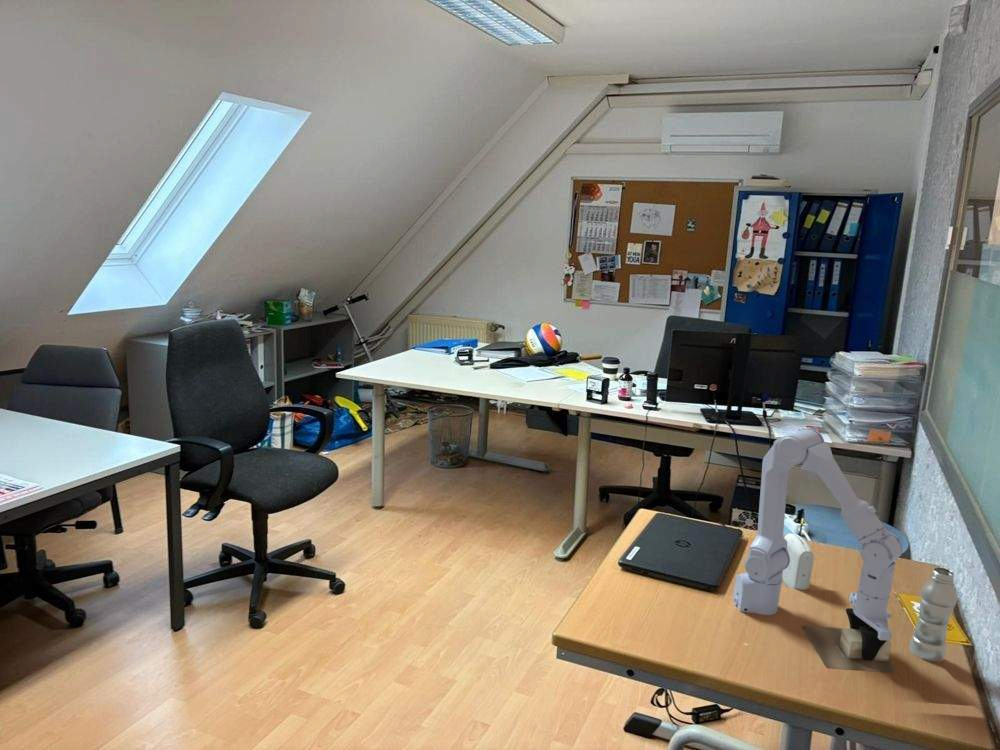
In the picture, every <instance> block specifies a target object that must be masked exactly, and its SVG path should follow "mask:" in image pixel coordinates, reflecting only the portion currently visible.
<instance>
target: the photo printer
mask: <svg viewBox="0 0 1000 750" xmlns="http://www.w3.org/2000/svg"><path fill="white" fill-rule="evenodd" d="M783 537H784V539H785V540H786V541H787V550H788V553H789V555H790V564H789V566H788V567H787V568H786V569H784V570H783V574H782V577H783V578H782V583H784V584H785V586H786V587H787V588H788V589H796V590H802V591H804V590H805V591H806V590H809V587H810V582H811V577H812V572H813V565H814V561H815V559H814V558H815V555H814V552H813V550H812V547H811V546H810V545H809V543H808V542H807V541H806V540H805V539H804V538H803V537H802V536H800V535H798V534H796V533H787V534H786V535H785V536H783Z"/></svg>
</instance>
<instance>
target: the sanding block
mask: <svg viewBox="0 0 1000 750" xmlns="http://www.w3.org/2000/svg"><path fill="white" fill-rule="evenodd" d="M840 647H841V648H842V650H843V651H844V653H845V654H846V656H847V657H848V658H850V659H863V658H862V636H861V632H860V629H850V628H843V627H842V634H841V639H840ZM891 649H892V642H891V640H890V641H886V642H885V643H884V644H883V646H882V647H881V648H880V650H879V651H878V653H877V655H876V657H875V658H874V660H879V661H888V660H889V659H890V655H891ZM889 661H890V660H889Z"/></svg>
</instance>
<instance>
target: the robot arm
mask: <svg viewBox="0 0 1000 750" xmlns="http://www.w3.org/2000/svg"><path fill="white" fill-rule="evenodd" d="M761 464H762V465H761V466H762V467H761V479H760V481H761V482H760V493H759V494H760V495H759V503H758V504H759V507H758V520H757V522H758V523H757V532H756V533H757V534H756V537H755V538H754V540H752V543H751V544H750V546H749V551H748V552H749V553H748V554H747V556H746V558H745V560H744V568H745V571H746V572H745V573H744V572H743V573H737V575H736V576H735V581H734V582H735V583H734V589H733V596H732V598H733V602H734V603H733V604H734V605H735V606H737V607H736V608H738V611H739V612H741V613H751V614H757V615H758V614H759V615H763V616H772V615H775V614H776V613H777V612H778V610H779V602H780V596H781V591H782V583H783V580H782V578H783V577H782V574H783V570H784V569H786V568H787V567H788V566H789V564H790V555H789V553H788V550H787V541H786V540H785V539H784V537H785V536H784V530H785V529H784V527H785V515H786V514H785V513H786V506H787V505H786V502H787V493H788V492H787V490H788V480H789V478H788V477H789V470H790V469H791V468H793V467H795V466H796V465H799V464H802V465H801V466H800V467H799V468H800V469H801V470H804V471H806V472H810V473H813V474H817V475H818V476H819V478H820V479H821V481H822V482H823V483H824V485H825V486H826V487H827V489H828V490H829V491H830V493H831V494H832V495H833V496H834V498H835V499H836V500H837V502H838V503H839V504H840V505H841V512H840V517H841V518H842V519H843V521H844V522H845V524H846V526H847V527H848V529H849V530H850V532H851V533H852V535H853V536H854V538H855V539H856V541H857V542H858V544H859V545H860V546H861V548H860V549H859V553H860V557H861V559H862V562H863V563H862V567H861V572H860V578H859V582H858V583H859V584H858V588H857V592H850V594H849V598H848V599H849V600H848V601H849V602H850V604H852V608H851V607H850V608H848V607H847V608H846V609H845V613H846V615H847V618H848V619H847V620H848V622H849V629H860V632H861V636H862V658H863V659H864V660H874V658H875V657H876V655H877V653H878V651H879V650H880V648H881V647H882V646H883V644H884V643H885V642H886V641H890V642H891V638H892V630H890V627H889V620H888V619H891V618H892V614H891V613H890V612H891V611H889V610H888V608H889V607H888V606H889V602H890V601H889V600H890V595H891V591H892V586H893V581H894V575H895V574H894V573H895V568H896V562H895V561H897V560H898V559H899V558H900V557H901V555H902V554H903V545H902V542H901V541H900V537H899V536H897V535H896V534H894V533H892V532H890V531H889V530H888V529H886V528H885V526H884V525H883V524H882V522H881V520H880V519H879V517H878V515H877V514H876V513H877V510H876V508H875V507H874V505H872V506H870V504H869V503H868V501H866V500H863V499H860V498H858V497H857V495H856V493H855V492H854V490H853V488H852V487H851V485H850V483H849V481H848V480H847V478H846V477H845V475H844V473H843V472H842V470H841V468H840V467H839V465H838V463H837V461H836V460H835V458H834V455H833V453H832V448H831V446H830V445H829V444H828V443H827V441H825V439H824V436H823V435H822V433H821V432H819V431H818V430H817V429H815V428H811V427H806V428H802V429H800V430H799V431H796V432H794V433H791V434H787V435H784V436H782V437H780V438H778V439H776V440H774V441H773V445H772V446H771V447H770V449H769V450H768V452H767V453H766V454H765V455H764V456H763V458H762V463H761Z"/></svg>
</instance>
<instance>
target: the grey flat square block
mask: <svg viewBox="0 0 1000 750" xmlns="http://www.w3.org/2000/svg"><path fill="white" fill-rule="evenodd" d="M800 627H801V629H802V630H803V632H804V634H805V636H806V637H807V639H808V640H809V642H810V644H811V645H812V647H813V649H814V650H815V652H816V654H818V657H819V658H820V660H821V661H822V663H823V665H824V666H825V668H826V669H834V670H848V671H850V670H851V671H860V672H861V671H862V672H875V673H888V674H889V673H892V674H899V672H898V671H897V669H896V668H895V667H894V666H893V664H892V663H891V661H890V660H888V661H879V660H864V659H850V658H848V657H847V656H846V654H845V653H844V651H843V650H842V648H841V647H840V639H841V634H842V628H843V627H842V628H840V627H828V626H815V625H814V626H813V625H800Z"/></svg>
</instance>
